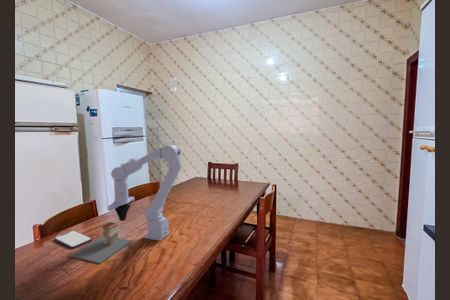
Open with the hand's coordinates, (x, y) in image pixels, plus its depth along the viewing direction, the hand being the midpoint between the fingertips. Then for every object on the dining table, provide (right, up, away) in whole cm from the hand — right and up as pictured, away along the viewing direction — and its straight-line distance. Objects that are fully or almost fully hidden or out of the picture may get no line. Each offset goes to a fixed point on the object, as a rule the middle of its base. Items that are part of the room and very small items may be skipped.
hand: (122, 220), depth 102 cm
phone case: (-21, -9, -4) cm, 23 cm away
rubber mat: (-3, -9, -11) cm, 14 cm away
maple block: (-2, -8, -6) cm, 10 cm away
